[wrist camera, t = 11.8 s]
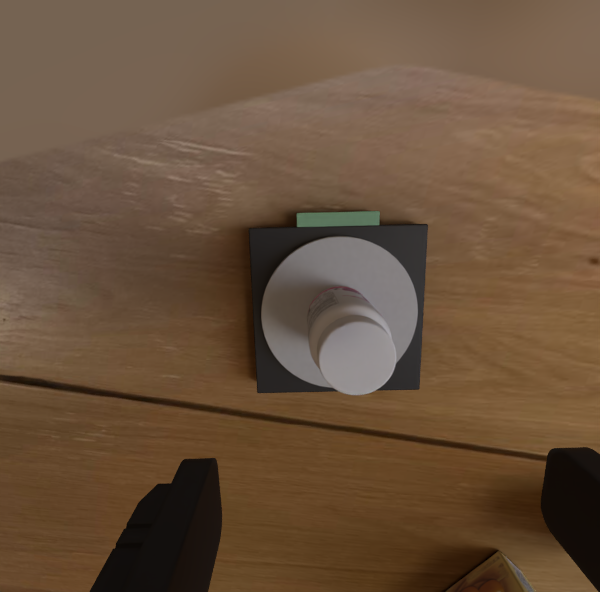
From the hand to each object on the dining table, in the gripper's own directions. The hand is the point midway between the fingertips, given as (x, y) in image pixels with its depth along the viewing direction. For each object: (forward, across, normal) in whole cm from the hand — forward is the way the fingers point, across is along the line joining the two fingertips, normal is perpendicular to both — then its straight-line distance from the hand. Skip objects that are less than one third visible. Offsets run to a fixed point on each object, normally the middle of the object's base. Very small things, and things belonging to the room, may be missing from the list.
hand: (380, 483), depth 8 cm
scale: (+21, -1, +1) cm, 21 cm away
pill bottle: (+18, -1, +1) cm, 18 cm away
